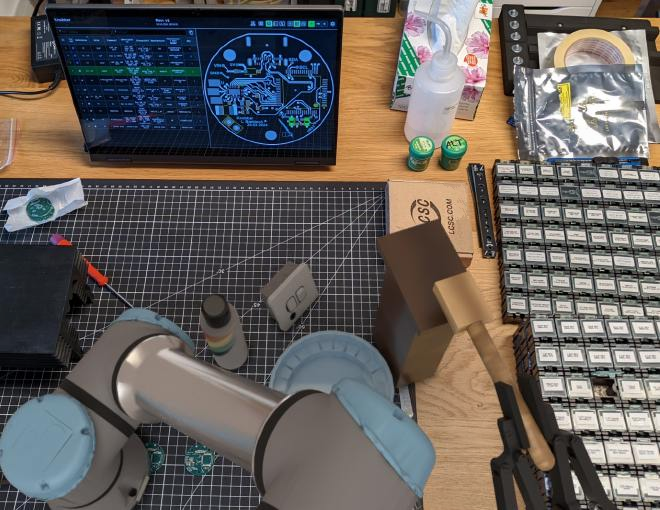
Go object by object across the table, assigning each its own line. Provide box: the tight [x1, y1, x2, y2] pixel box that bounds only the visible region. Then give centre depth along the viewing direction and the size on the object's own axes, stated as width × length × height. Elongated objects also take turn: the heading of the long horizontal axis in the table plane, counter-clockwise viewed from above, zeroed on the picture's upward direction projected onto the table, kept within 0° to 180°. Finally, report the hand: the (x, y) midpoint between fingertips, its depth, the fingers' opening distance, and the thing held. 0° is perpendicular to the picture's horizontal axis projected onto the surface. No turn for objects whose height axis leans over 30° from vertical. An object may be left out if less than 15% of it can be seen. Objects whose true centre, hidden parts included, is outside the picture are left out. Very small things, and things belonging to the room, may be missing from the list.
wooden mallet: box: [433, 270, 555, 472], centre depth 67 cm, size 4×22×2 cm, turn 20°
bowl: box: [268, 329, 395, 403], centre depth 98 cm, size 19×19×6 cm
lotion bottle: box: [199, 292, 249, 370], centre depth 95 cm, size 6×6×20 cm
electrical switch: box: [258, 260, 320, 332], centre depth 105 cm, size 9×5×9 cm, turn 141°
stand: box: [372, 218, 468, 390], centre depth 91 cm, size 9×14×30 cm, turn 20°
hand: (514, 380), depth 63 cm, fingers closed on wooden mallet, 2 cm apart
